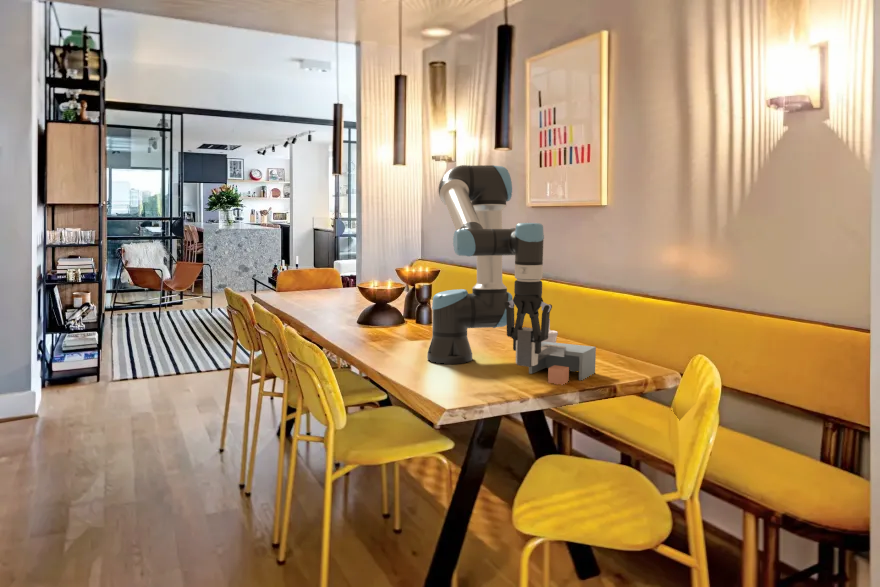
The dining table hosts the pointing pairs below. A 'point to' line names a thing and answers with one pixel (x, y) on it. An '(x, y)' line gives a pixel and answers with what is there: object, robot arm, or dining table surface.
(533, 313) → the robot arm
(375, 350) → the dining table surface
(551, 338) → the smoothie
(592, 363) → the cubby
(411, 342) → the dining table surface
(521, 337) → the grey block with rod
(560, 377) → the cube
